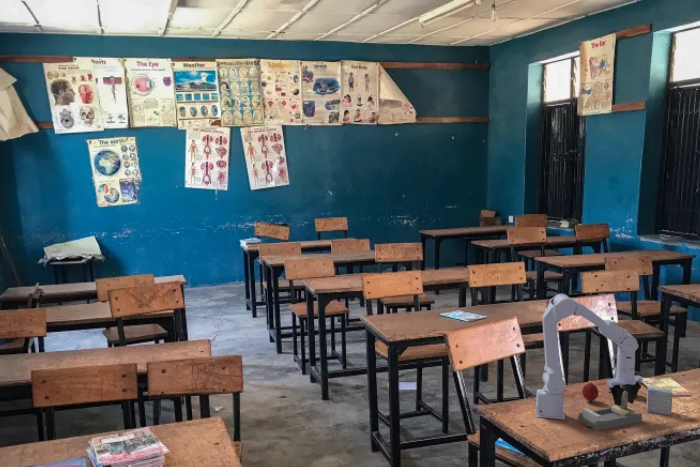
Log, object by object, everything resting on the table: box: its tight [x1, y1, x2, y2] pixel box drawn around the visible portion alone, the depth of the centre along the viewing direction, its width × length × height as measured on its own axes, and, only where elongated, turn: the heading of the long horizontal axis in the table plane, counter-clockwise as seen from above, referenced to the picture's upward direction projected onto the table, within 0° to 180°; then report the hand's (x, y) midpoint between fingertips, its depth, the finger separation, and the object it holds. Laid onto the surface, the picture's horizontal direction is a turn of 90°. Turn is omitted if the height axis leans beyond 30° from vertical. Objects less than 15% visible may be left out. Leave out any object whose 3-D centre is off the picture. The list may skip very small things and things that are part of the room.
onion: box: [581, 380, 599, 402], centre depth 218 cm, size 6×6×8 cm
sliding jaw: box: [611, 391, 637, 417], centre depth 203 cm, size 5×6×8 cm
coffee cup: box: [620, 370, 643, 399], centre depth 224 cm, size 8×8×10 cm
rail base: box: [578, 406, 643, 431], centre depth 201 cm, size 20×9×4 cm, turn 110°
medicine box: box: [646, 385, 674, 416], centre depth 208 cm, size 8×4×9 cm, turn 65°
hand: (623, 403), depth 203 cm, fingers open, 5 cm apart
